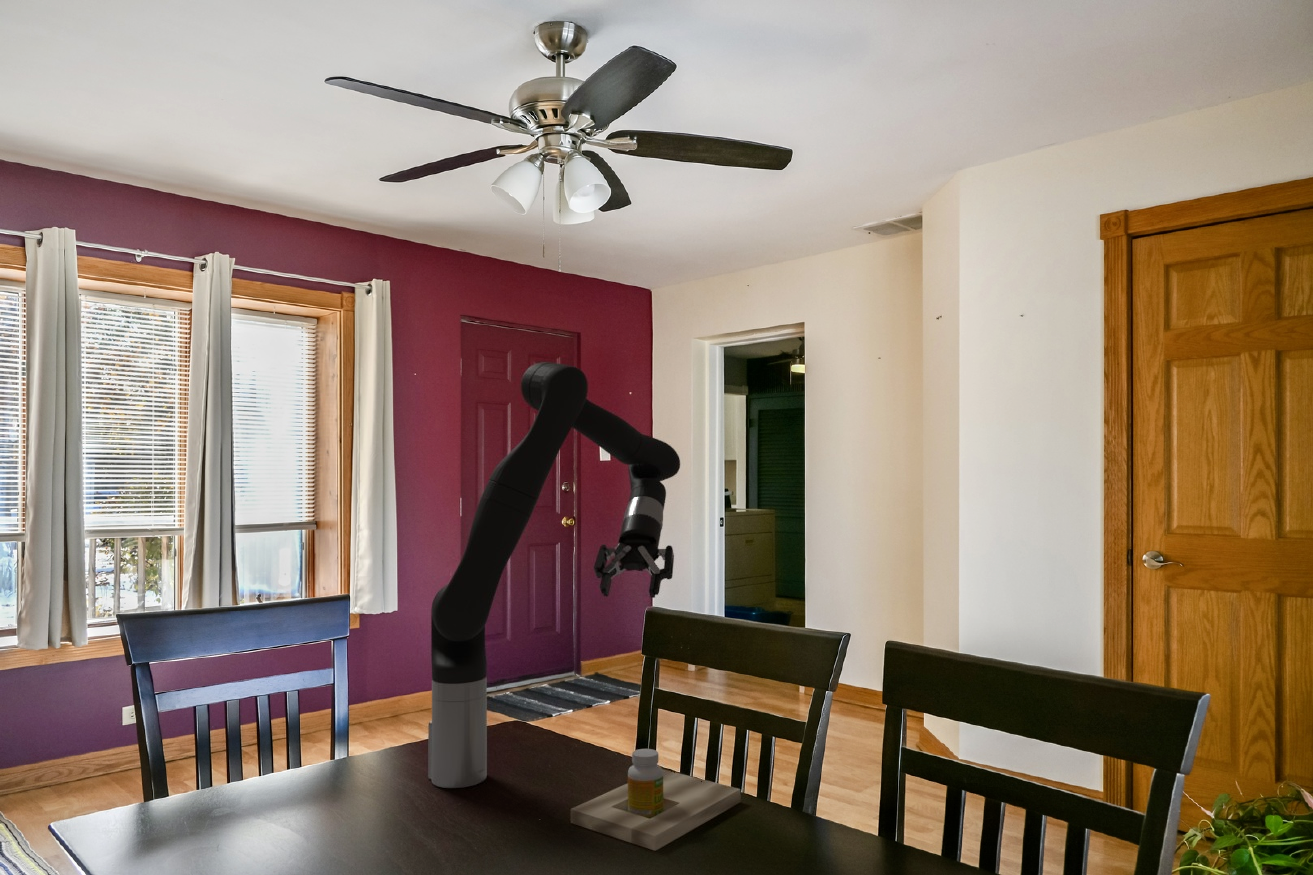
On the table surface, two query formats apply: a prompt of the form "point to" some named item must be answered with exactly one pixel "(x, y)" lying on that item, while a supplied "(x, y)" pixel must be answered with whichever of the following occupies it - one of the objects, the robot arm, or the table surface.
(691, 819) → the socket board
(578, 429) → the robot arm
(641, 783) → the supplement bottle
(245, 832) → the table surface
